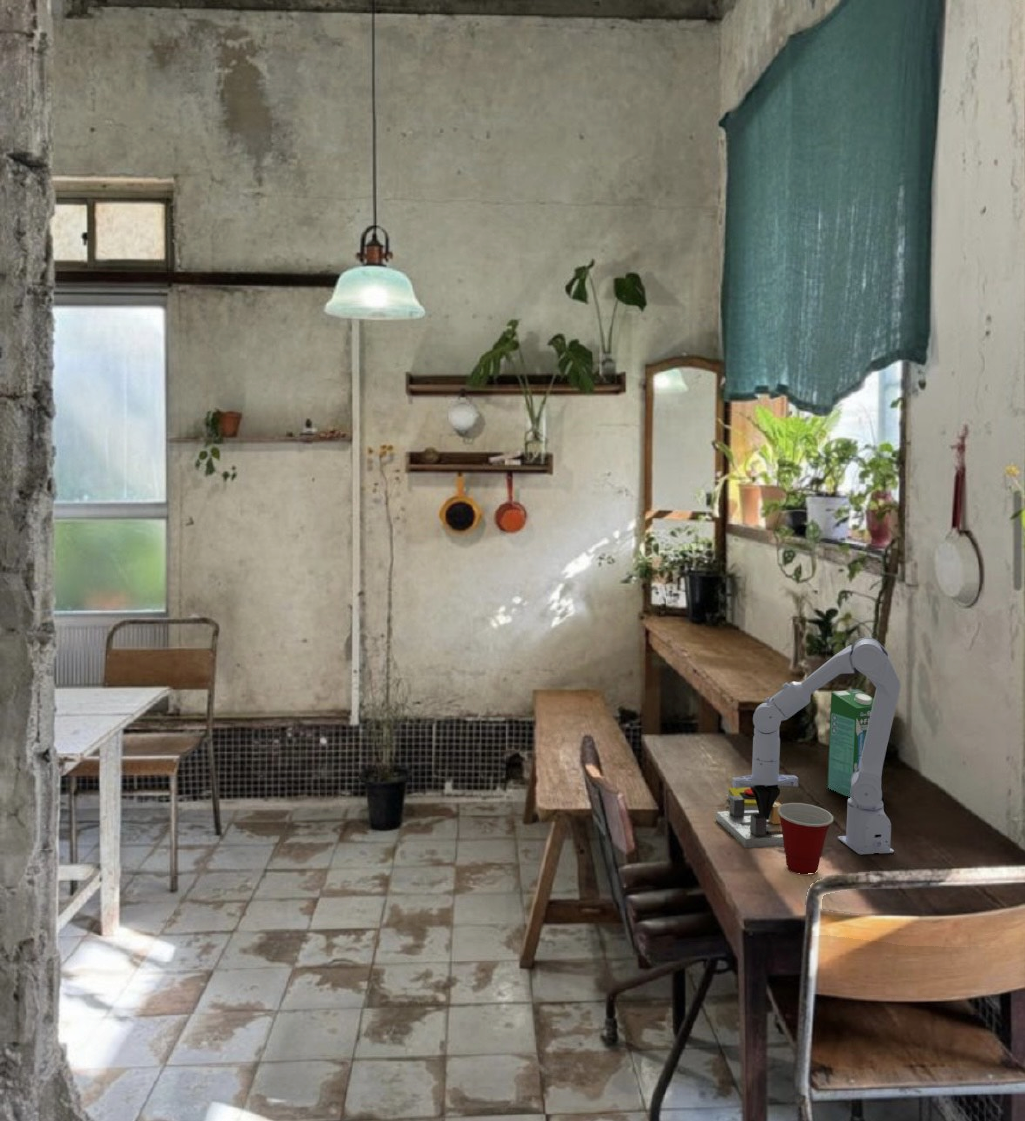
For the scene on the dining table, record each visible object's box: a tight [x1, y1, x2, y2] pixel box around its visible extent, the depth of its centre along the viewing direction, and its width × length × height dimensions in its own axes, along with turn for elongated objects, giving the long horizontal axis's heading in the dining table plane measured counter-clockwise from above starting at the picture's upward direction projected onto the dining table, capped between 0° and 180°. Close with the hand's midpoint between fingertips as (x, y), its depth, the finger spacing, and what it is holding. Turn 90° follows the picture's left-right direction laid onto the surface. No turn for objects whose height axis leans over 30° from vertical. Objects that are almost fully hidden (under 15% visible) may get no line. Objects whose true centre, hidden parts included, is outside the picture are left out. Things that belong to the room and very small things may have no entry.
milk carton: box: [827, 688, 874, 798], centre depth 245 cm, size 9×9×25 cm
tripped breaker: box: [768, 801, 782, 824], centre depth 217 cm, size 3×2×4 cm
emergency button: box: [725, 787, 777, 811], centre depth 234 cm, size 9×4×15 cm
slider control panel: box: [716, 796, 784, 849], centre depth 216 cm, size 17×14×6 cm
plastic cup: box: [777, 802, 834, 875], centre depth 195 cm, size 11×11×12 cm
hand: (763, 818), depth 216 cm, fingers closed
